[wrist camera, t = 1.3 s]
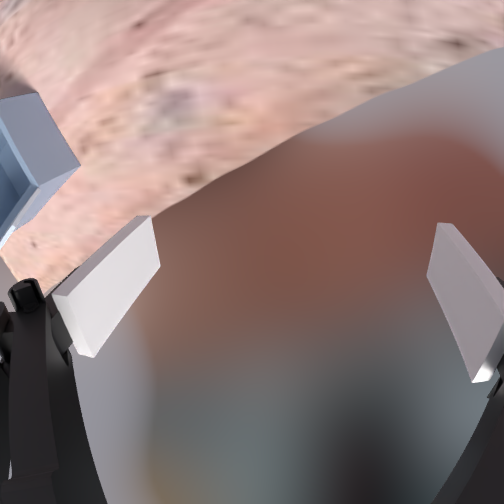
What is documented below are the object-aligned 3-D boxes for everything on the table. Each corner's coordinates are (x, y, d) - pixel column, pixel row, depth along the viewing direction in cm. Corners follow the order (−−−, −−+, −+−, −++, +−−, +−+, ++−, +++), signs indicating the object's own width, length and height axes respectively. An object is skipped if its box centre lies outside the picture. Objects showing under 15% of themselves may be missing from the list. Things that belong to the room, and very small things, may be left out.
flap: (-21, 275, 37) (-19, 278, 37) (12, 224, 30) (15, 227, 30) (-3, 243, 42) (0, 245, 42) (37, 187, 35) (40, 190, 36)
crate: (-5, 155, 46) (-42, 171, 37) (37, 92, 39) (-7, 101, 30) (32, 218, 51) (-3, 242, 42) (81, 165, 44) (38, 186, 35)
